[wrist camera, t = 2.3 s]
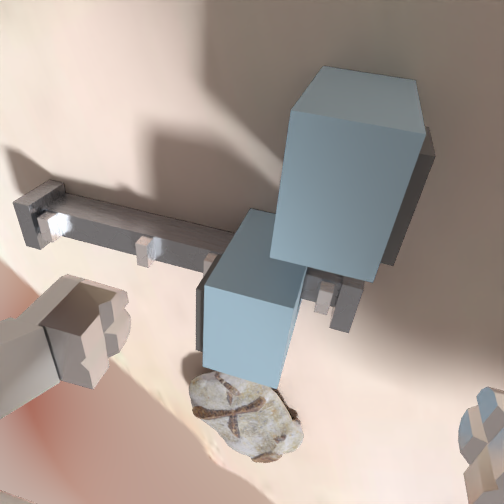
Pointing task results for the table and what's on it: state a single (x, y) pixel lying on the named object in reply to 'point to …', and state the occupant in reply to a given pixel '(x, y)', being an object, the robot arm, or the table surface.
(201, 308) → the light blue rectangular block
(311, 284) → the rail
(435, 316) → the table surface
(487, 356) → the table surface
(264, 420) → the stone
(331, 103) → the light blue block
